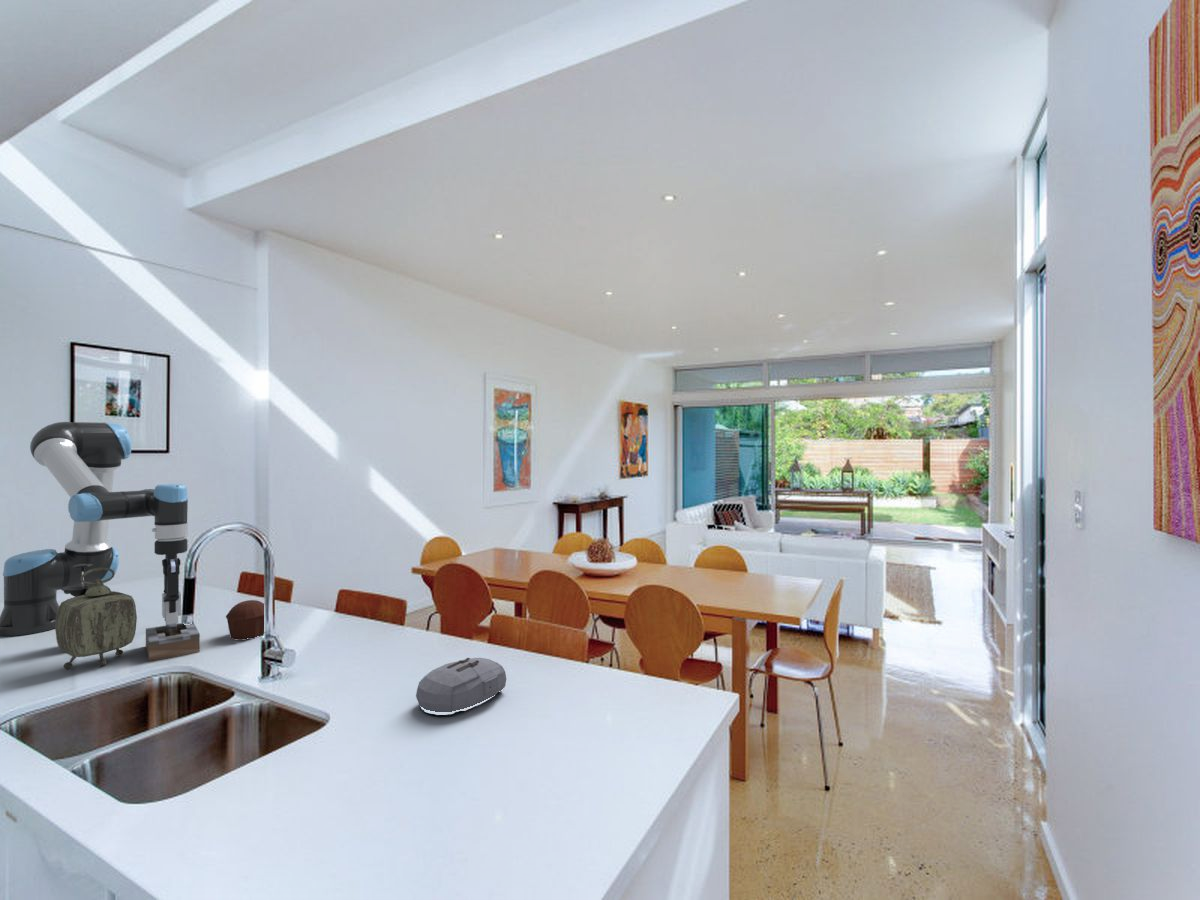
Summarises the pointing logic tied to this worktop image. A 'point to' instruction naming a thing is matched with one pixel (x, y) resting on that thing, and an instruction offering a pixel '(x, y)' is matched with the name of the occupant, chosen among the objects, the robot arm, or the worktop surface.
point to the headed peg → (170, 628)
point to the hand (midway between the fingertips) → (171, 621)
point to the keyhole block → (172, 642)
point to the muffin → (246, 620)
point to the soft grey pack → (460, 684)
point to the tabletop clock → (95, 621)
